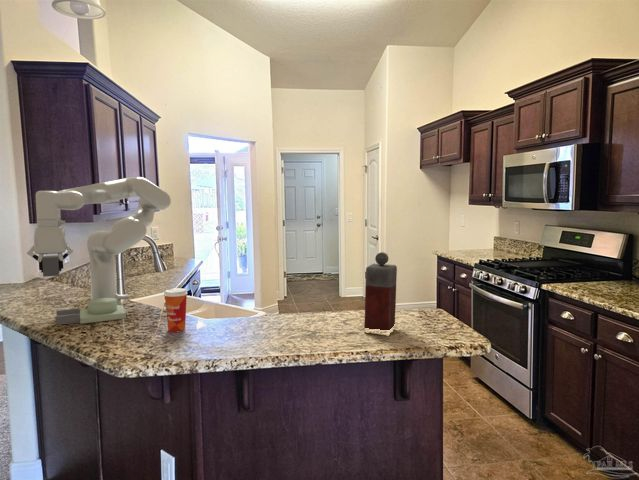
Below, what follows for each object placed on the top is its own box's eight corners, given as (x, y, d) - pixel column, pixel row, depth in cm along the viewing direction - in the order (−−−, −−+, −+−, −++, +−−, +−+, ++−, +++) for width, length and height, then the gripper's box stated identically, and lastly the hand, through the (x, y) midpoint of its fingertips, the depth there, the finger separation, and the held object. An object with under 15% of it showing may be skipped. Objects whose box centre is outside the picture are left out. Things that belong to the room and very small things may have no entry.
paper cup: (159, 330, 142) (159, 291, 141) (177, 325, 149) (176, 287, 148) (176, 334, 139) (175, 293, 138) (193, 328, 146) (192, 289, 144)
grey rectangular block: (59, 273, 162) (59, 255, 161) (59, 275, 156) (58, 257, 156) (44, 273, 159) (43, 255, 158) (43, 276, 154) (42, 258, 153)
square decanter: (396, 327, 151) (398, 251, 148) (389, 336, 140) (392, 254, 138) (372, 324, 154) (374, 249, 151) (363, 333, 144) (366, 253, 141)
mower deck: (122, 309, 169) (122, 295, 168) (125, 318, 157) (125, 302, 156) (57, 316, 158) (56, 301, 157) (55, 326, 145) (54, 309, 145)
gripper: (75, 222, 163) (77, 268, 165) (22, 223, 155) (25, 271, 157) (75, 223, 157) (77, 271, 159) (20, 224, 148) (23, 274, 150)
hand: (51, 270), depth 158 cm, fingers closed on grey rectangular block, 5 cm apart
